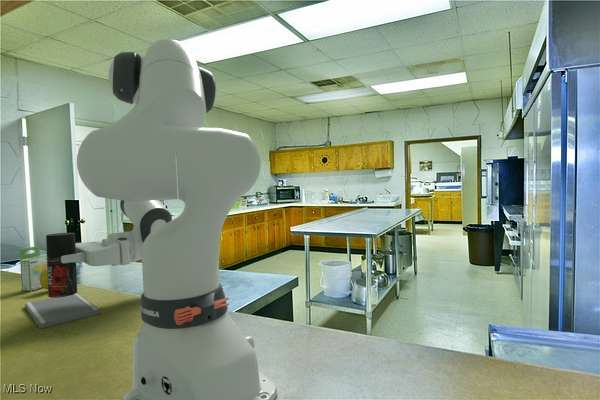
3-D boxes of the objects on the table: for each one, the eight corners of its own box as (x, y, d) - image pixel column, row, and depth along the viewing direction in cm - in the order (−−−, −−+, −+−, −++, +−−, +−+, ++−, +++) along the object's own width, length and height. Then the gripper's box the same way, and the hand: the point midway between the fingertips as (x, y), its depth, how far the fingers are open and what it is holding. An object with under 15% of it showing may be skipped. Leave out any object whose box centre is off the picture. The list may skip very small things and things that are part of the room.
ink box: (31, 292, 107) (28, 249, 106) (21, 291, 107) (18, 249, 107) (52, 285, 113) (49, 245, 113) (42, 285, 114) (39, 245, 114)
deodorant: (82, 290, 88) (80, 232, 88) (64, 297, 82) (62, 235, 82) (61, 290, 89) (59, 232, 88) (42, 297, 83) (39, 235, 82)
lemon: (43, 290, 108) (41, 265, 108) (64, 287, 110) (62, 262, 110) (38, 295, 103) (36, 268, 103) (60, 292, 105) (58, 266, 105)
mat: (100, 313, 85) (99, 308, 85) (40, 328, 76) (39, 323, 76) (77, 295, 100) (77, 292, 100) (25, 307, 92) (24, 303, 92)
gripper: (105, 234, 102) (48, 241, 92) (130, 240, 87) (65, 249, 77) (106, 255, 102) (49, 264, 92) (131, 265, 88) (67, 276, 78)
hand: (57, 257), depth 85 cm, fingers closed on deodorant, 6 cm apart
